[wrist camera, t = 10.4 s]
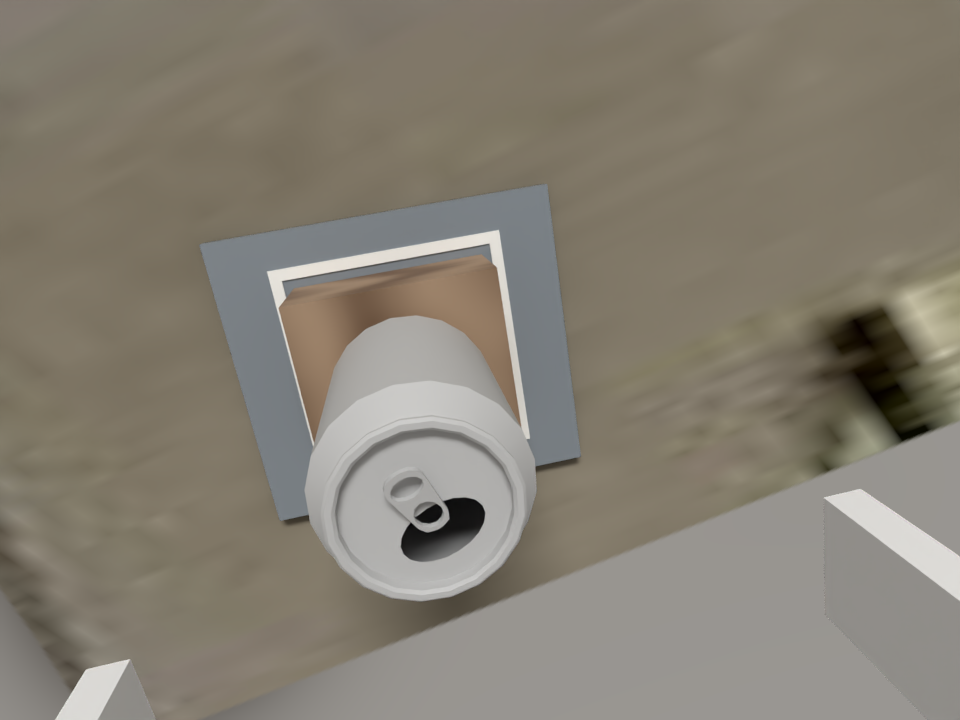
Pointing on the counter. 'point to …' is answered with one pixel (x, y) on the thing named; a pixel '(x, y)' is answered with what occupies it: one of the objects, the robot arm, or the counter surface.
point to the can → (418, 463)
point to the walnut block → (398, 293)
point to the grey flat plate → (380, 248)
